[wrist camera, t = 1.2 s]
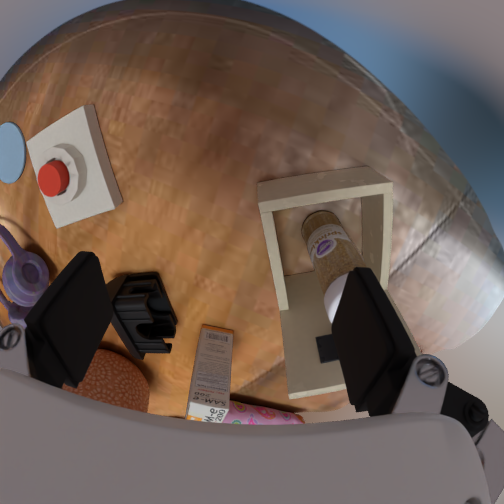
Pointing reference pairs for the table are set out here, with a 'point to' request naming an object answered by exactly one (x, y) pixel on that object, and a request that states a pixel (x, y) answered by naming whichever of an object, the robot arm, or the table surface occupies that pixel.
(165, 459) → the robot arm
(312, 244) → the sprinkles bottle
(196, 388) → the supplement box
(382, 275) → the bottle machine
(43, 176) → the release button
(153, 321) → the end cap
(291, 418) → the pencil case
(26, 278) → the headphones
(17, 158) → the coaster
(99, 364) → the planter
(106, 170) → the button block
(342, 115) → the table surface
